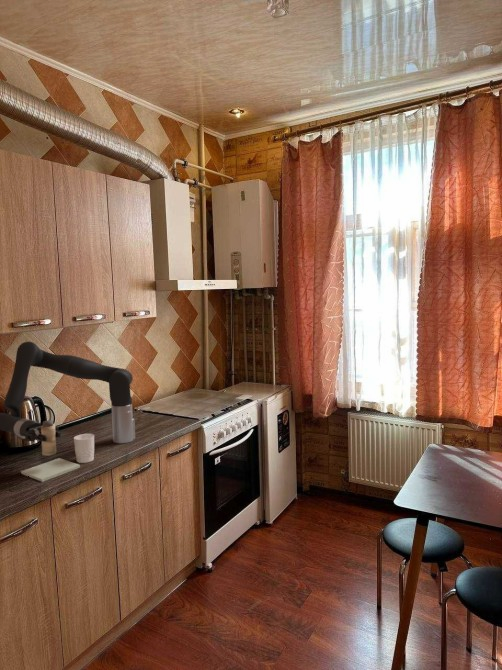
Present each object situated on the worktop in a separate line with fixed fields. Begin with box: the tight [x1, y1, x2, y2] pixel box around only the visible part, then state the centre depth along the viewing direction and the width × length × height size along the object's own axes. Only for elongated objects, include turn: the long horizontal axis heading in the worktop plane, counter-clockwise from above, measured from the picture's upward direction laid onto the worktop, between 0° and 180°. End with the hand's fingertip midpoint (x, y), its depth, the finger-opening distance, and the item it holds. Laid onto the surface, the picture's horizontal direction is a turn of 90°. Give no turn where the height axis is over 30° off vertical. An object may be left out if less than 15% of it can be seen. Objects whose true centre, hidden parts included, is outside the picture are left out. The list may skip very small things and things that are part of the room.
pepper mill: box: [41, 420, 57, 456], centre depth 174 cm, size 5×5×12 cm
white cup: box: [73, 433, 95, 464], centre depth 186 cm, size 8×8×10 cm
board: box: [20, 457, 81, 483], centre depth 176 cm, size 16×14×1 cm
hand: (52, 436), depth 173 cm, fingers closed on pepper mill, 5 cm apart
